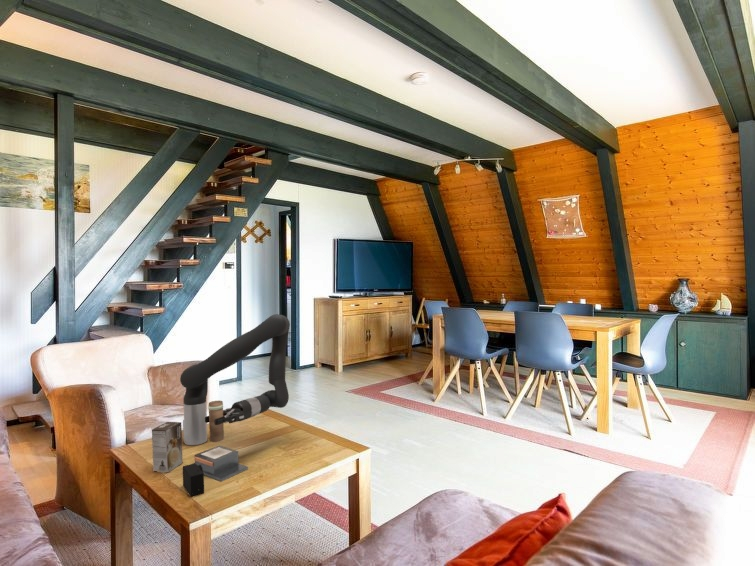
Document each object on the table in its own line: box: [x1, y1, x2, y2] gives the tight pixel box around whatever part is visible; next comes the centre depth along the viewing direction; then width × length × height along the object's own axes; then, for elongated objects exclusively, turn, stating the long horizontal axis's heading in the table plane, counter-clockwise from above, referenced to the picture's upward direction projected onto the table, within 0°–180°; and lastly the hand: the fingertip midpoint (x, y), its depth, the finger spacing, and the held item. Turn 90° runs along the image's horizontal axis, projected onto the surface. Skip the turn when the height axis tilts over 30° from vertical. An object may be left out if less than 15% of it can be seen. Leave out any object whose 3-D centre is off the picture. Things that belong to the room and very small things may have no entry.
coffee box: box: [151, 421, 184, 473], centre depth 176 cm, size 9×6×16 cm
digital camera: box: [182, 462, 205, 498], centre depth 159 cm, size 10×5×7 cm, turn 36°
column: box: [207, 400, 225, 443], centre depth 174 cm, size 5×5×14 cm
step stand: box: [192, 444, 249, 482], centre depth 175 cm, size 20×12×6 cm, turn 57°
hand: (210, 421), depth 172 cm, fingers closed on column, 5 cm apart
